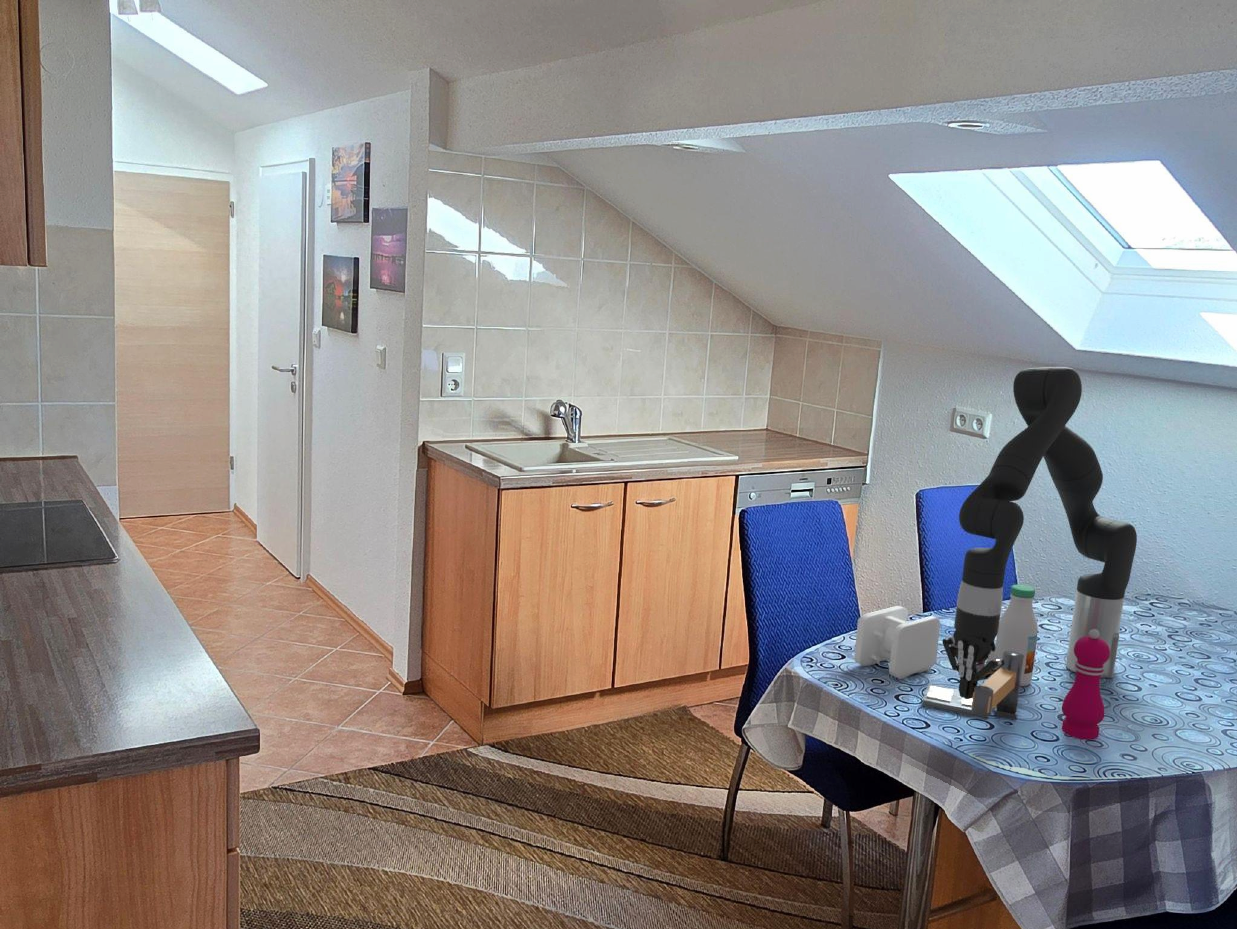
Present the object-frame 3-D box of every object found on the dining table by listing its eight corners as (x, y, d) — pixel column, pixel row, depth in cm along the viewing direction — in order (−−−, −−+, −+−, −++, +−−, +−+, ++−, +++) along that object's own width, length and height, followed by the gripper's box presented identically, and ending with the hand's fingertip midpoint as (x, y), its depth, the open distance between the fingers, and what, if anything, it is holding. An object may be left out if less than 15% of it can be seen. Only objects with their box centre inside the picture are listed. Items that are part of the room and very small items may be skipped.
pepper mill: (1051, 723, 196) (1065, 622, 192) (1088, 724, 197) (1103, 623, 193) (1070, 741, 189) (1086, 636, 185) (1109, 741, 190) (1125, 637, 186)
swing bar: (997, 686, 198) (999, 664, 197) (1014, 691, 196) (1017, 669, 195) (969, 713, 185) (972, 689, 184) (987, 718, 183) (990, 694, 182)
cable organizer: (891, 683, 212) (897, 629, 209) (850, 666, 220) (855, 613, 217) (936, 669, 221) (942, 616, 219) (895, 653, 229) (900, 602, 227)
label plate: (990, 701, 205) (991, 694, 205) (987, 719, 197) (988, 711, 196) (927, 689, 209) (928, 682, 209) (921, 705, 201) (922, 698, 201)
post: (1017, 711, 201) (1025, 652, 198) (1016, 719, 197) (1024, 659, 195) (995, 707, 202) (1003, 648, 200) (994, 715, 199) (1001, 655, 196)
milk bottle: (1012, 689, 212) (1025, 594, 208) (983, 675, 218) (995, 583, 215) (1039, 684, 215) (1052, 591, 212) (1009, 670, 222) (1021, 580, 218)
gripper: (1023, 616, 184) (1009, 708, 187) (965, 593, 195) (953, 680, 199) (993, 621, 180) (980, 715, 184) (936, 597, 191) (924, 686, 195)
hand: (966, 697), depth 191 cm, fingers closed
